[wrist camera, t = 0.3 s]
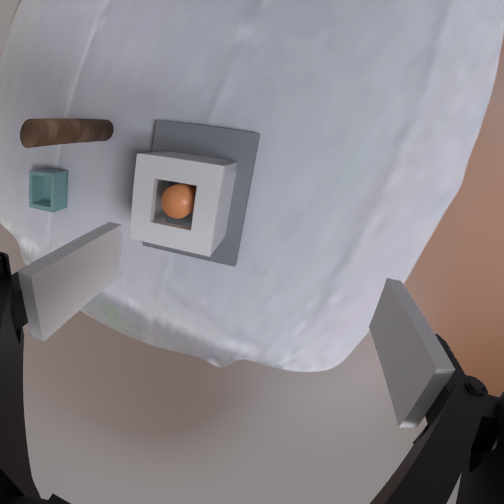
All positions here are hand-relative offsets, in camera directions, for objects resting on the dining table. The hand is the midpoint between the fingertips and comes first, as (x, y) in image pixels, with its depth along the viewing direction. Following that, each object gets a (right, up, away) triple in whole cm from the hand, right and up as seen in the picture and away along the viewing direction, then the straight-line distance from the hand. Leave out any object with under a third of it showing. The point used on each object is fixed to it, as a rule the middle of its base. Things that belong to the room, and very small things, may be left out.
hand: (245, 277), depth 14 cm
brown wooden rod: (-21, +19, +26) cm, 38 cm away
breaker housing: (-7, +9, +27) cm, 29 cm away
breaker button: (-8, +8, +24) cm, 26 cm away
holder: (-33, +12, +30) cm, 46 cm away
